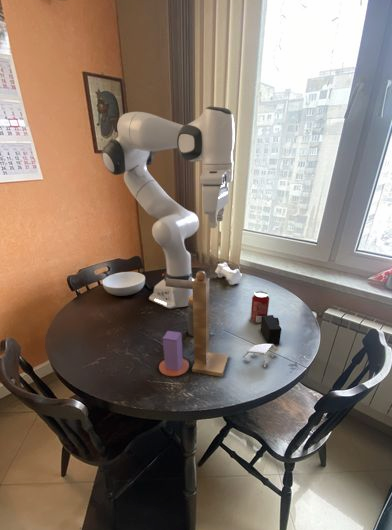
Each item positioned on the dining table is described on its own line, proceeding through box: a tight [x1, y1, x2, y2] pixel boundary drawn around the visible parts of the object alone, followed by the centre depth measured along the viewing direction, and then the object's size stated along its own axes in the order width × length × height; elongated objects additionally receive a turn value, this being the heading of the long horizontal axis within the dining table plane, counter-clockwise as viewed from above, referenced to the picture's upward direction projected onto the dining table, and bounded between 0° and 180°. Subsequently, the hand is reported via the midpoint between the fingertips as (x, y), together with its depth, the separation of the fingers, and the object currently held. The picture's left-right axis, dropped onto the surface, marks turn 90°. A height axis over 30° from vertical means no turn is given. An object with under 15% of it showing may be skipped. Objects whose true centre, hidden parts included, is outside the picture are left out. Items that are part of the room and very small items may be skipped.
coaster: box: [158, 358, 190, 378], centre depth 100 cm, size 10×10×1 cm
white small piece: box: [242, 343, 279, 368], centre depth 101 cm, size 12×8×5 cm
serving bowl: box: [101, 271, 146, 297], centre depth 151 cm, size 21×21×7 cm
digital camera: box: [260, 314, 282, 346], centre depth 113 cm, size 10×5×7 cm, turn 5°
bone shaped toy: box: [214, 261, 243, 286], centre depth 161 cm, size 15×9×8 cm, turn 27°
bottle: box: [186, 295, 194, 337], centre depth 115 cm, size 6×6×15 cm
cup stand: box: [165, 270, 229, 378], centre depth 93 cm, size 18×10×33 cm, turn 74°
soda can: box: [249, 290, 270, 324], centre depth 123 cm, size 7×7×12 cm
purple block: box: [162, 330, 184, 371], centre depth 97 cm, size 12×5×5 cm
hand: (216, 224), depth 96 cm, fingers open, 8 cm apart
